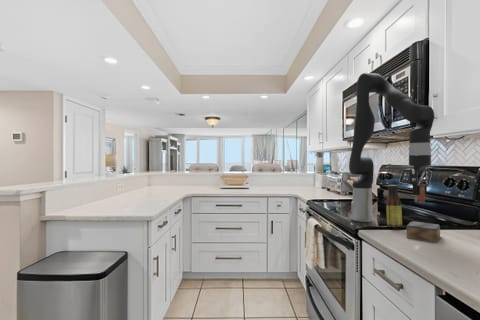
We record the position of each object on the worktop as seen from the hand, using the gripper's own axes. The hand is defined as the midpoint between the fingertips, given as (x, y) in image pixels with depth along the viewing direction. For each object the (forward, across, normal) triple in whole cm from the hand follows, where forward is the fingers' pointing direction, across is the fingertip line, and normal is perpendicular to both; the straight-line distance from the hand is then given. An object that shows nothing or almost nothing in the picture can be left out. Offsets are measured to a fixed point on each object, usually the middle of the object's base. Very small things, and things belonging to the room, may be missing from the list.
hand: (419, 194), depth 109 cm
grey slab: (+18, -2, +1) cm, 18 cm away
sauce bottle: (+18, -10, -14) cm, 25 cm away
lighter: (+3, 0, 0) cm, 3 cm away
